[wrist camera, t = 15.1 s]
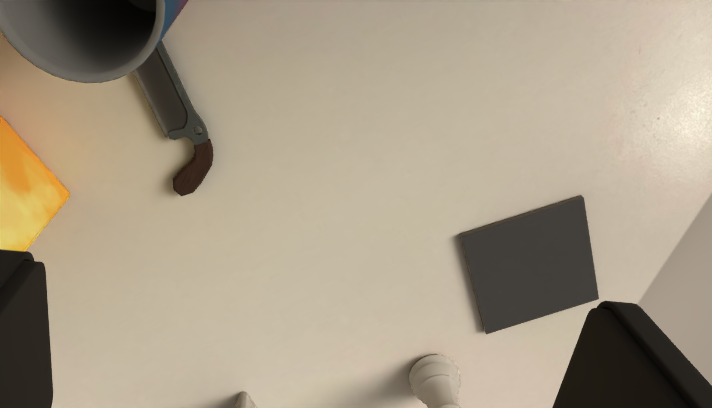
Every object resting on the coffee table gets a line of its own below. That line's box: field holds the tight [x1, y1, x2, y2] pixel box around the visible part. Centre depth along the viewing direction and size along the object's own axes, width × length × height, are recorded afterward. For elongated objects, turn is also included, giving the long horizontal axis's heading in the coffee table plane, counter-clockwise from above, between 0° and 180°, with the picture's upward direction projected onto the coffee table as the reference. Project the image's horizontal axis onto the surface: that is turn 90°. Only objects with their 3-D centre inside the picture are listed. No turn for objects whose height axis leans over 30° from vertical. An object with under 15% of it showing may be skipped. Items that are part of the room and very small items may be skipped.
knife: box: [133, 41, 213, 196], centre depth 40 cm, size 14×4×1 cm, turn 19°
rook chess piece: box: [409, 354, 461, 408], centre depth 49 cm, size 4×4×8 cm
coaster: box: [460, 195, 599, 334], centre depth 49 cm, size 10×10×1 cm
